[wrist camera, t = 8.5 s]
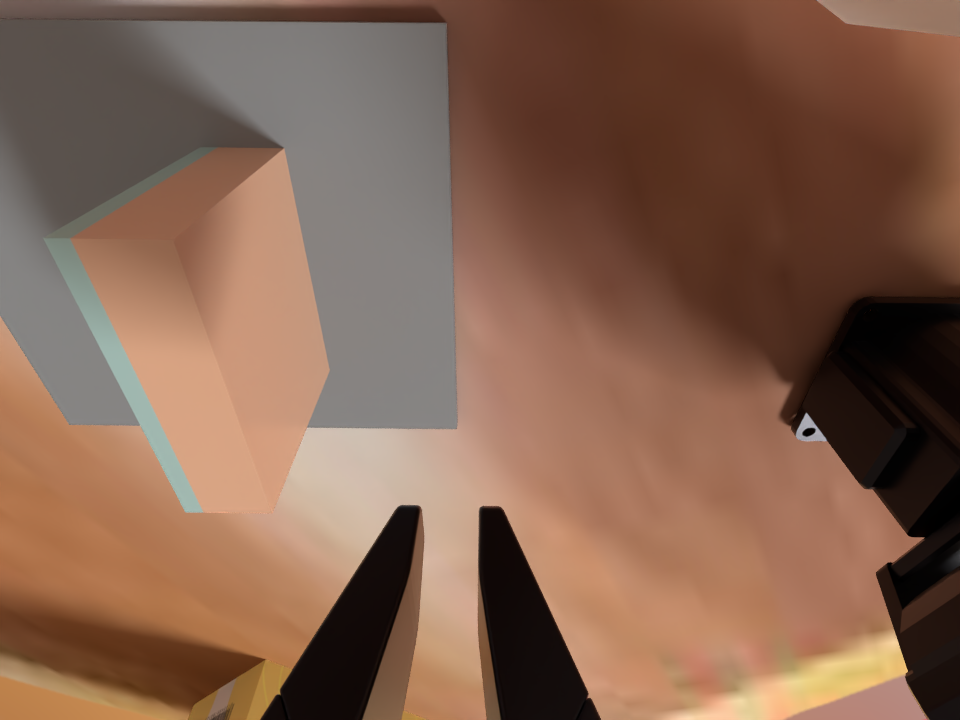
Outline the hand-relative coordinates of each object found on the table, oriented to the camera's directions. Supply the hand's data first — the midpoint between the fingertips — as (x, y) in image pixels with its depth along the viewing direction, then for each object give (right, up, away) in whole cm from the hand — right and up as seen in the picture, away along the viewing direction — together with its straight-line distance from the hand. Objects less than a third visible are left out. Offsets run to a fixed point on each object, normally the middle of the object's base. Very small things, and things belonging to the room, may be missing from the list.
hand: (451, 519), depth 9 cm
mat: (-8, +6, +8) cm, 13 cm away
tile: (-6, +6, +8) cm, 12 cm away
